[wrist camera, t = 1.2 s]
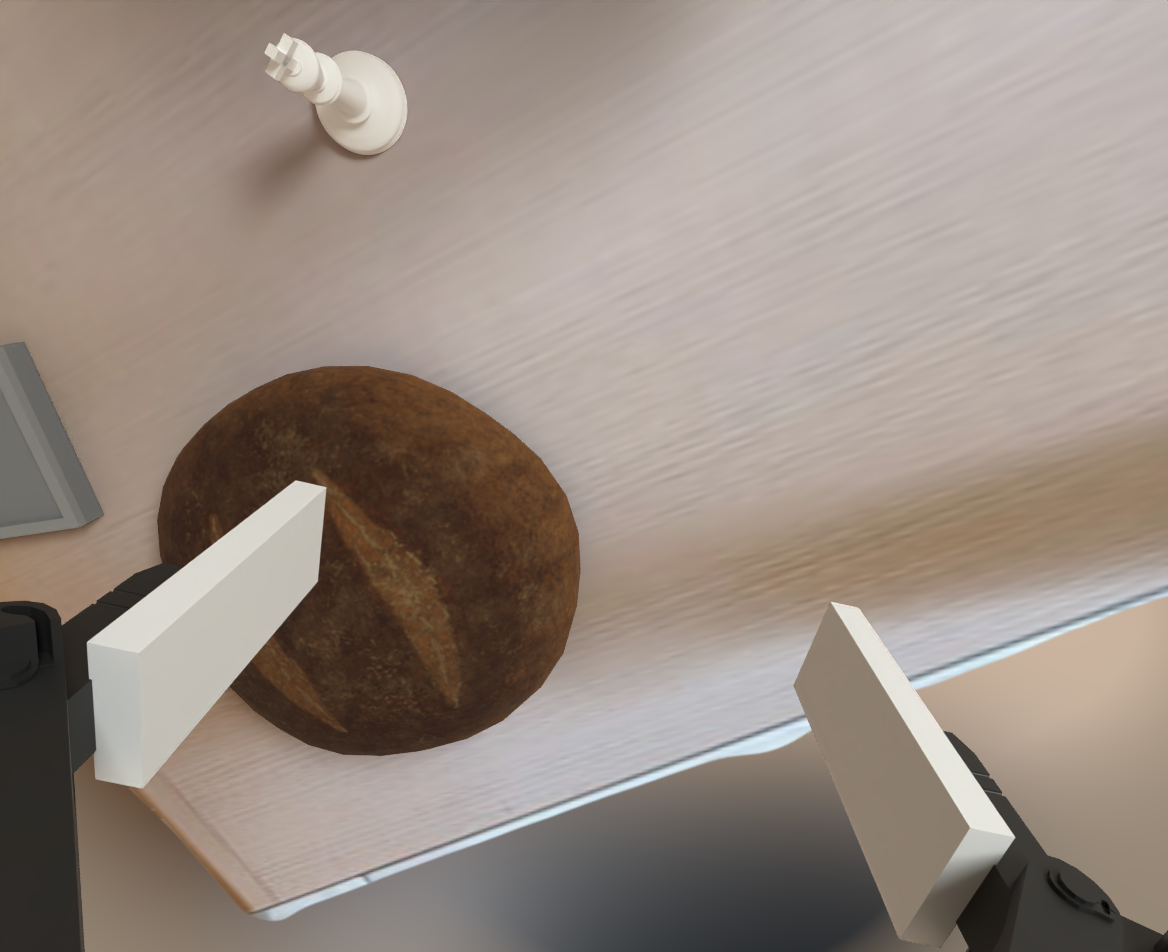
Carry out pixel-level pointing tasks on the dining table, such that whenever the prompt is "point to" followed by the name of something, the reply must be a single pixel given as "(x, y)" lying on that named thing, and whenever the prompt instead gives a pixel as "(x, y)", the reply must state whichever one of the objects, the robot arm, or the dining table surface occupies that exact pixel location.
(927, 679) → the dining table surface
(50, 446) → the tray
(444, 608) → the bread
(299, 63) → the chess piece
